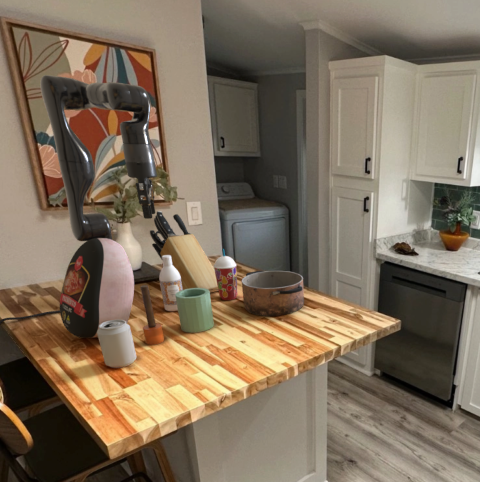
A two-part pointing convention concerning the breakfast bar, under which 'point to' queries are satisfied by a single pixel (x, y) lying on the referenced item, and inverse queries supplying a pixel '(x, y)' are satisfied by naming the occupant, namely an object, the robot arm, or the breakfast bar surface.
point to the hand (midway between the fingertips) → (150, 216)
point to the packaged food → (96, 287)
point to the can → (116, 343)
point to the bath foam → (169, 283)
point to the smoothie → (226, 277)
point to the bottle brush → (150, 320)
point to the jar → (194, 310)
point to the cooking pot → (272, 292)
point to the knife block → (184, 254)
